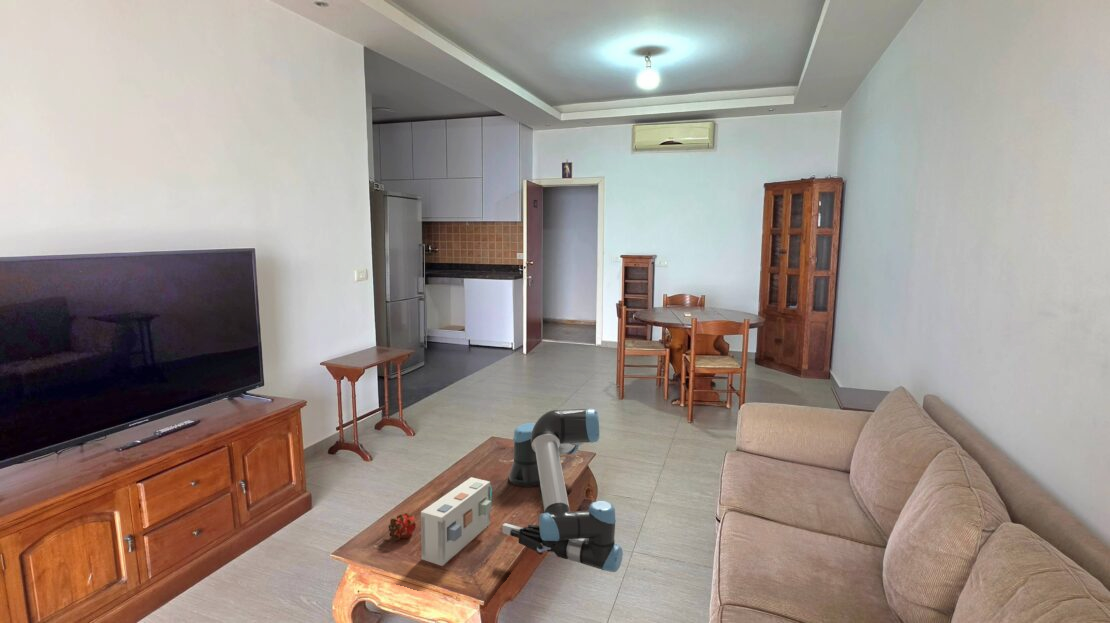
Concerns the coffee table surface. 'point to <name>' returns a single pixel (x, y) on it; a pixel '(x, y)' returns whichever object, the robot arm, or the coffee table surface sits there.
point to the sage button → (484, 507)
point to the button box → (453, 520)
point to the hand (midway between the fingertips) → (503, 527)
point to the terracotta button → (467, 518)
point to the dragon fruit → (402, 526)
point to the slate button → (454, 531)
